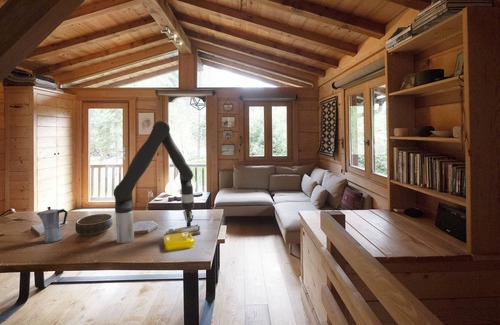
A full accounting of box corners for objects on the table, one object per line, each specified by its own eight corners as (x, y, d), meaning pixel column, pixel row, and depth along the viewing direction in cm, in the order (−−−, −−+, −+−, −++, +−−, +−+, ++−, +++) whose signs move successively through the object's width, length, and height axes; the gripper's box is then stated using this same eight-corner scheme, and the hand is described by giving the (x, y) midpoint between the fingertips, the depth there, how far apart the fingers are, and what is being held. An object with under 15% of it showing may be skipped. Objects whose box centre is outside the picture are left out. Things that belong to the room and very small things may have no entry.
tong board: (170, 239, 163) (170, 237, 163) (166, 233, 173) (165, 231, 173) (200, 234, 172) (200, 231, 172) (194, 228, 182) (194, 226, 182)
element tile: (163, 242, 161) (163, 234, 160) (190, 238, 166) (189, 230, 166) (165, 252, 147) (165, 243, 146) (194, 248, 152) (194, 239, 152)
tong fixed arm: (169, 235, 165) (169, 231, 165) (168, 233, 169) (167, 229, 169) (200, 230, 174) (199, 226, 174) (197, 228, 178) (197, 224, 178)
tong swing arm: (175, 233, 169) (175, 229, 169) (174, 232, 170) (174, 228, 170) (198, 228, 177) (198, 225, 177) (197, 228, 178) (197, 224, 178)
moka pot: (41, 239, 166) (38, 205, 164) (71, 235, 171) (69, 203, 169) (35, 244, 157) (32, 209, 155) (67, 241, 162) (65, 207, 160)
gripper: (178, 199, 178) (179, 225, 180) (184, 203, 167) (186, 231, 169) (190, 197, 182) (191, 223, 184) (196, 202, 171) (198, 229, 173)
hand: (188, 227), depth 176 cm, fingers closed
